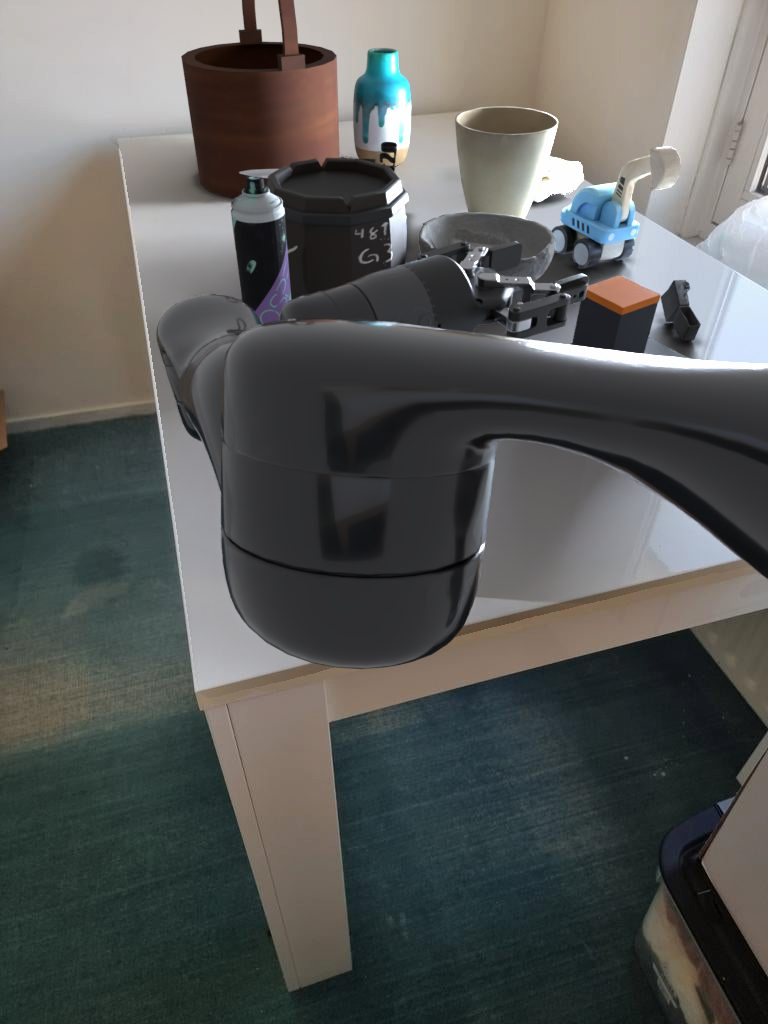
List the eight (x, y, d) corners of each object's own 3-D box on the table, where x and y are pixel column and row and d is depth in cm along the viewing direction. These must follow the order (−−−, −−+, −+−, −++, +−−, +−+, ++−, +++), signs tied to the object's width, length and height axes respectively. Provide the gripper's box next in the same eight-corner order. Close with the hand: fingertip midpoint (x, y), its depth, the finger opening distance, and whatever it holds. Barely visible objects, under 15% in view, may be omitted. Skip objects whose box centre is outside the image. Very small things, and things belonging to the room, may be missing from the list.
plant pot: (469, 206, 125) (478, 101, 115) (554, 222, 120) (571, 114, 110) (432, 235, 115) (438, 123, 105) (522, 254, 110) (538, 138, 100)
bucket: (217, 208, 123) (181, -56, 100) (185, 163, 141) (149, -69, 118) (360, 189, 131) (358, -60, 108) (313, 149, 149) (302, -72, 126)
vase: (367, 179, 135) (367, 58, 123) (345, 162, 143) (342, 47, 130) (419, 172, 139) (423, 54, 126) (394, 156, 146) (397, 43, 133)
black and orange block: (637, 380, 81) (661, 294, 74) (602, 395, 79) (623, 307, 72) (600, 359, 84) (619, 275, 78) (565, 372, 82) (582, 287, 75)
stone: (497, 167, 142) (500, 139, 138) (558, 166, 142) (562, 138, 139) (522, 205, 126) (526, 175, 123) (590, 204, 127) (596, 173, 123)
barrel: (303, 264, 107) (296, 147, 96) (421, 284, 102) (426, 163, 92) (242, 317, 94) (226, 189, 84) (373, 343, 89) (373, 211, 79)
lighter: (687, 351, 94) (707, 330, 89) (672, 352, 93) (691, 331, 88) (674, 296, 96) (693, 272, 91) (659, 296, 96) (678, 273, 91)
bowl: (548, 267, 107) (557, 211, 101) (547, 324, 94) (557, 262, 88) (424, 257, 109) (427, 202, 104) (407, 311, 96) (409, 251, 91)
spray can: (255, 370, 85) (233, 188, 71) (243, 348, 88) (221, 171, 75) (301, 361, 86) (288, 182, 73) (288, 340, 90) (273, 166, 77)
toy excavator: (617, 291, 101) (648, 157, 90) (543, 248, 112) (562, 124, 101) (664, 279, 104) (700, 148, 93) (587, 238, 115) (610, 117, 104)
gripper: (358, 321, 67) (496, 280, 74) (454, 392, 58) (600, 338, 65) (357, 240, 62) (504, 203, 69) (461, 303, 53) (618, 254, 60)
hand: (550, 268), depth 67 cm, fingers open, 8 cm apart
